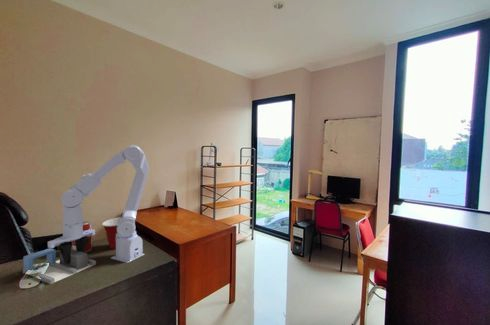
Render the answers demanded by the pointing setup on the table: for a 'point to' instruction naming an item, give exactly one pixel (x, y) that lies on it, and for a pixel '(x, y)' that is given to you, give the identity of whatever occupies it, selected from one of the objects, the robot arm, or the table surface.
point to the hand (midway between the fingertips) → (73, 260)
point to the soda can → (89, 246)
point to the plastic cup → (111, 231)
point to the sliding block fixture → (52, 266)
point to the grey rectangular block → (76, 259)
